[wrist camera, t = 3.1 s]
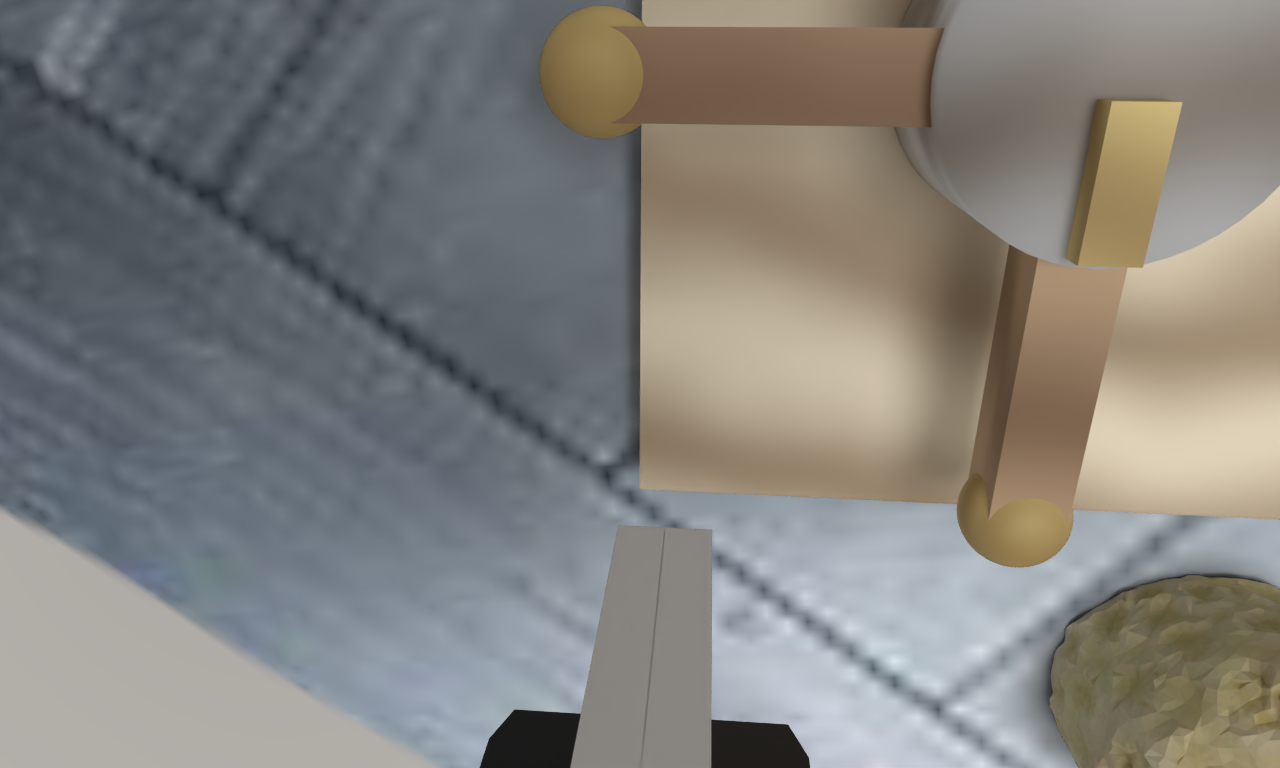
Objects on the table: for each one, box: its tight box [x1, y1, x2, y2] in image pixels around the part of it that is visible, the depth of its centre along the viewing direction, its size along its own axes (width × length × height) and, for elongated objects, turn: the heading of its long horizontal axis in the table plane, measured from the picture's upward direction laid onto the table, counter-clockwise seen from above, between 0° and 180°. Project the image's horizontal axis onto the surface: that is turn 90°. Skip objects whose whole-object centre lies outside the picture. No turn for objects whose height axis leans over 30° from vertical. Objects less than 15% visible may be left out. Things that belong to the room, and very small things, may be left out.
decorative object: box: [1049, 575, 1280, 768], centre depth 26 cm, size 9×10×10 cm
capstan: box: [539, 0, 1280, 567], centre depth 17 cm, size 23×23×6 cm
